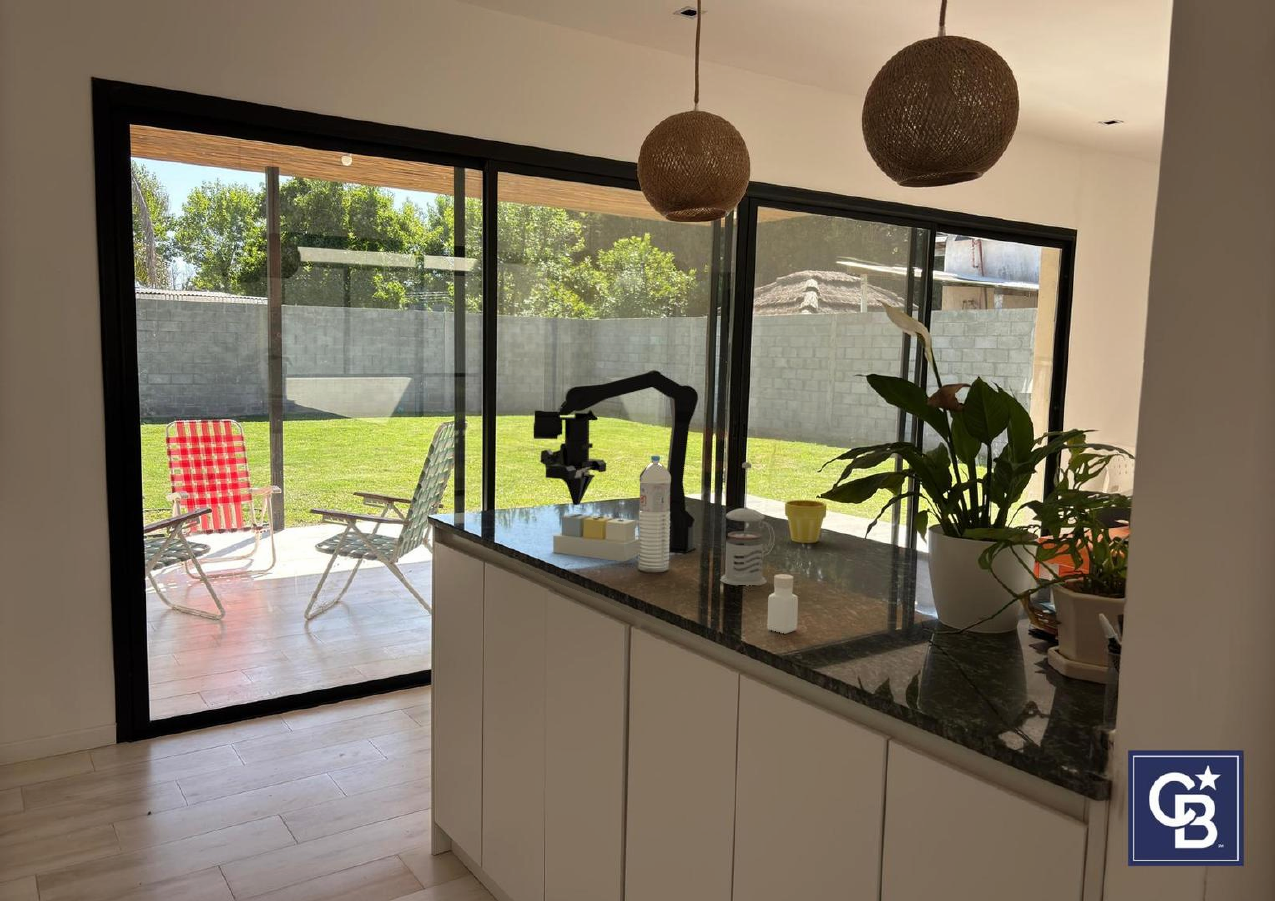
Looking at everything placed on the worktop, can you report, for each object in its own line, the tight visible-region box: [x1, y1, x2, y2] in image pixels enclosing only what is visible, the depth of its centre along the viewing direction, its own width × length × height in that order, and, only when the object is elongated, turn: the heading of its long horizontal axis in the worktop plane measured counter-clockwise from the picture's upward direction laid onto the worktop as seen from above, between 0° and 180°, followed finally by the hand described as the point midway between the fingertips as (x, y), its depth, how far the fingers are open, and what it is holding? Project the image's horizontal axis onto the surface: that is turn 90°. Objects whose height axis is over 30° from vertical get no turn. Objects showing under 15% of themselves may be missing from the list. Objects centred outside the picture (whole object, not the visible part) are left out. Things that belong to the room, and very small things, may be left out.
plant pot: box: [784, 499, 827, 544], centre depth 239 cm, size 10×10×10 cm
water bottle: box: [637, 455, 671, 574], centre depth 204 cm, size 7×7×25 cm
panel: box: [552, 532, 639, 563], centre depth 220 cm, size 19×9×4 cm, turn 63°
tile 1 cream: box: [606, 518, 636, 543], centre depth 217 cm, size 5×5×5 cm
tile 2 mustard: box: [583, 515, 614, 540], centre depth 220 cm, size 5×5×5 cm
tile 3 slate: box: [561, 513, 592, 537], centre depth 222 cm, size 5×5×5 cm
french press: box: [719, 461, 776, 587], centre depth 196 cm, size 10×12×25 cm
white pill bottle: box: [766, 573, 799, 635], centre depth 161 cm, size 4×4×10 cm
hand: (576, 504), depth 222 cm, fingers closed
